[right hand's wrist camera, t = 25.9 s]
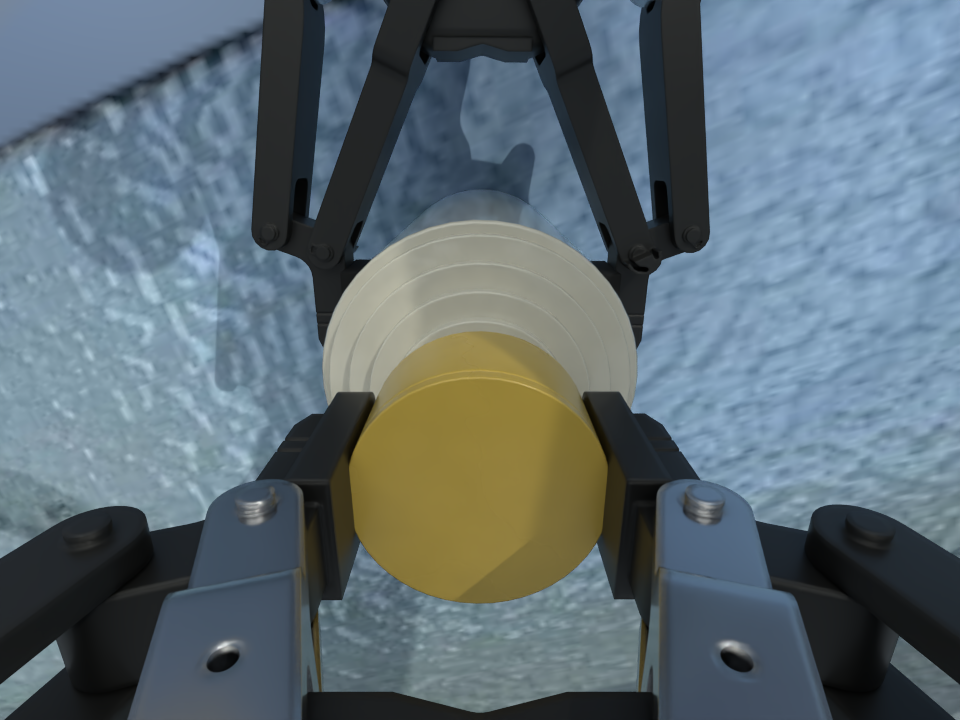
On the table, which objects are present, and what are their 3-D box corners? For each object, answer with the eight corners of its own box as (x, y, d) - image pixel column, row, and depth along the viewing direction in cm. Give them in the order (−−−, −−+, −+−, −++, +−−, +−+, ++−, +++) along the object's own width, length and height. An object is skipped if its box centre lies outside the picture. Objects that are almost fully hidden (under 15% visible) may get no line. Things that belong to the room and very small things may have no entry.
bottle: (525, 158, 25) (616, 160, 8) (589, 317, 28) (759, 570, 11) (366, 234, 26) (156, 375, 9) (442, 379, 29) (384, 696, 12)
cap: (602, 498, 12) (630, 578, 10) (407, 538, 13) (390, 624, 10) (564, 306, 11) (586, 348, 8) (343, 358, 11) (306, 411, 9)
